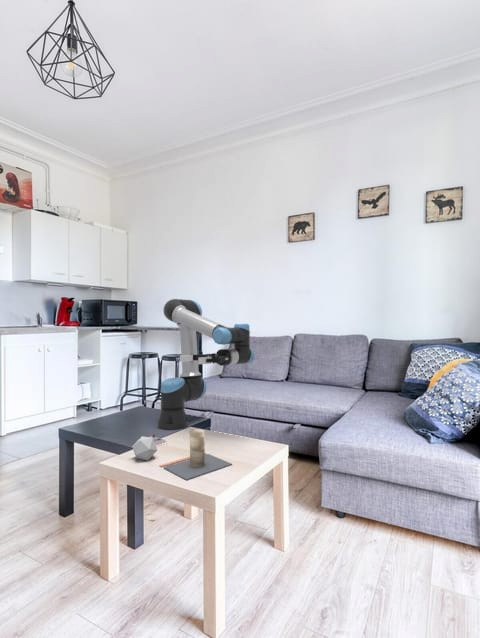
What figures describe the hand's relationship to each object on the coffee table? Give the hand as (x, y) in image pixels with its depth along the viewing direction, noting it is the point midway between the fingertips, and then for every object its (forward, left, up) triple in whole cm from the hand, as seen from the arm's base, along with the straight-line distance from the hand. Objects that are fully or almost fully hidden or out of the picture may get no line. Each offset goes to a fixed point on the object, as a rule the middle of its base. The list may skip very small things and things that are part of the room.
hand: (189, 359), depth 157 cm
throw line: (+12, +14, -36) cm, 40 cm away
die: (+22, +2, -36) cm, 42 cm away
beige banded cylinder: (+12, +22, -36) cm, 43 cm away
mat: (+12, +23, -36) cm, 44 cm away
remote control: (+9, -14, -37) cm, 40 cm away
